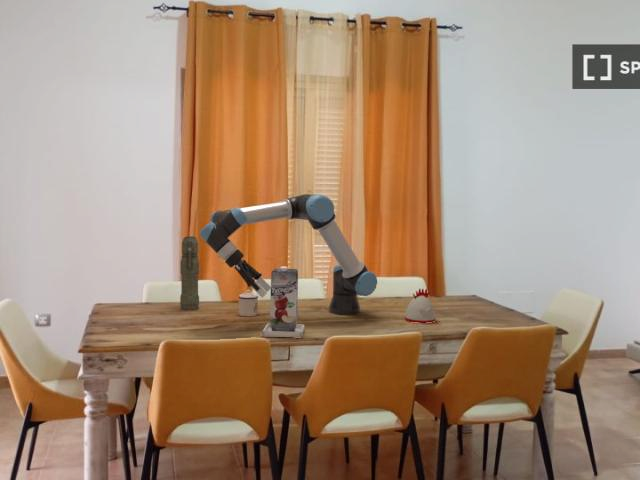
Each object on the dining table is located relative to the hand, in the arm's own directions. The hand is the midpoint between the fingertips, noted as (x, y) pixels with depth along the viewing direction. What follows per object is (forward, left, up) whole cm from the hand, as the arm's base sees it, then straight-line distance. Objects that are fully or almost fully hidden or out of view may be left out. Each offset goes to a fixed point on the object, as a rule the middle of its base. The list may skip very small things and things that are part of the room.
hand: (267, 292), depth 251 cm
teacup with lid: (+14, -36, -17) cm, 42 cm away
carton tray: (-7, 0, -17) cm, 18 cm away
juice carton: (-7, -1, -16) cm, 18 cm away
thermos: (+44, -44, -17) cm, 65 cm away
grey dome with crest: (-66, -34, -17) cm, 76 cm away
